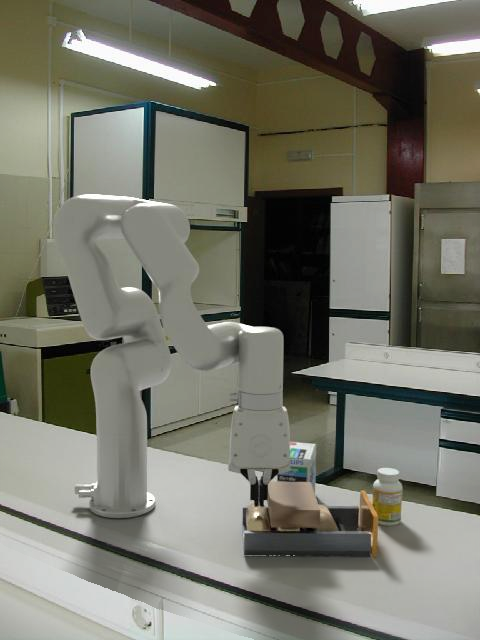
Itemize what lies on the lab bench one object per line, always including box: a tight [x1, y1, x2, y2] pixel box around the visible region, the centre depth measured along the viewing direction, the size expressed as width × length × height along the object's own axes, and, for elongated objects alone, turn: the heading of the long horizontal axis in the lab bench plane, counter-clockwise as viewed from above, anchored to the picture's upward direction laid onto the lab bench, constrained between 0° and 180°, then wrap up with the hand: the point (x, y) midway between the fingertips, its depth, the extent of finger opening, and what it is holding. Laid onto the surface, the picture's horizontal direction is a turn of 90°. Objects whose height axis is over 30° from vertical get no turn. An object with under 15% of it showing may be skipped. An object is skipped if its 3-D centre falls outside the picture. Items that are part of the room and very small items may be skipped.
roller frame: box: [241, 489, 379, 558], centre depth 126 cm, size 22×12×7 cm, turn 91°
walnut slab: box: [266, 481, 320, 528], centre depth 125 cm, size 8×13×3 cm, turn 1°
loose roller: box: [312, 504, 339, 531], centre depth 126 cm, size 4×8×4 cm, turn 5°
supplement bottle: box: [372, 467, 403, 527], centre depth 135 cm, size 5×5×10 cm
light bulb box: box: [276, 441, 317, 494], centre depth 144 cm, size 11×7×11 cm, turn 168°
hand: (258, 503), depth 125 cm, fingers closed
